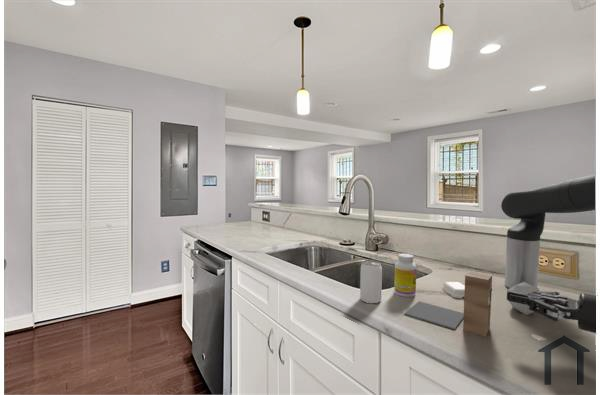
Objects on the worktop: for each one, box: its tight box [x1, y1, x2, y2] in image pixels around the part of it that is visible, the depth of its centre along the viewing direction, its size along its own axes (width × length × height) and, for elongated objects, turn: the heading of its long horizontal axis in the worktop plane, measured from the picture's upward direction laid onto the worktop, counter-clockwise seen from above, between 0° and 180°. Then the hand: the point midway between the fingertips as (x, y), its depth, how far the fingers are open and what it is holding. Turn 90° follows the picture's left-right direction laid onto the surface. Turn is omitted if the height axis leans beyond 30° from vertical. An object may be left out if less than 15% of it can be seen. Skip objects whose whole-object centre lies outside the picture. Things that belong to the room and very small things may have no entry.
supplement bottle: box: [393, 253, 417, 298], centre depth 101 cm, size 7×7×13 cm
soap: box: [441, 281, 465, 299], centre depth 102 cm, size 9×7×3 cm
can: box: [359, 259, 383, 304], centre depth 96 cm, size 6×6×12 cm
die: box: [506, 282, 540, 316], centre depth 88 cm, size 8×9×10 cm
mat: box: [403, 300, 464, 331], centre depth 86 cm, size 11×13×1 cm
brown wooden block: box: [462, 270, 493, 337], centre depth 77 cm, size 5×5×14 cm
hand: (507, 295), depth 73 cm, fingers closed
